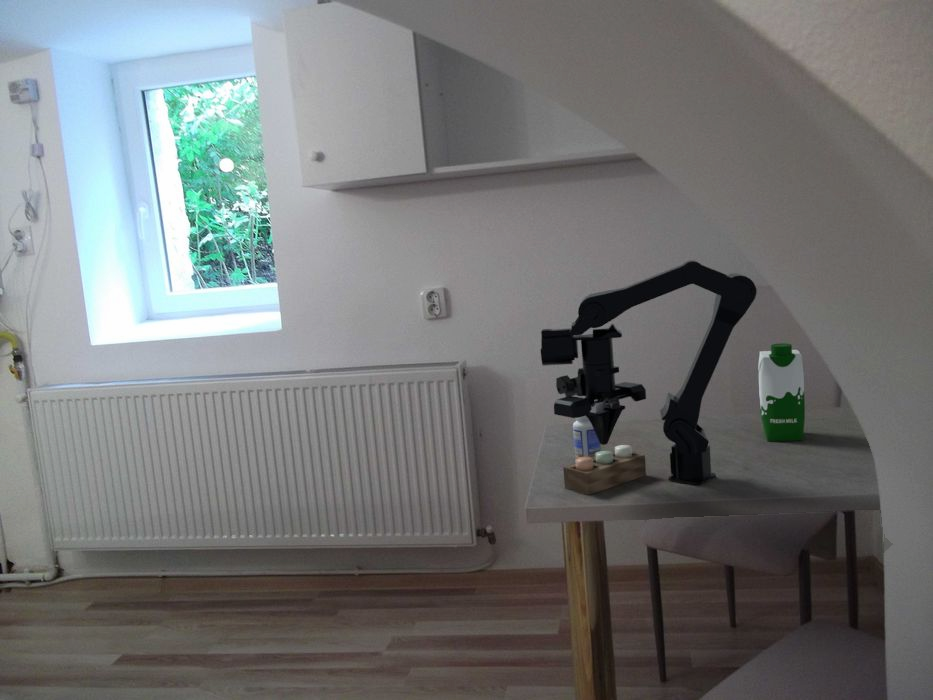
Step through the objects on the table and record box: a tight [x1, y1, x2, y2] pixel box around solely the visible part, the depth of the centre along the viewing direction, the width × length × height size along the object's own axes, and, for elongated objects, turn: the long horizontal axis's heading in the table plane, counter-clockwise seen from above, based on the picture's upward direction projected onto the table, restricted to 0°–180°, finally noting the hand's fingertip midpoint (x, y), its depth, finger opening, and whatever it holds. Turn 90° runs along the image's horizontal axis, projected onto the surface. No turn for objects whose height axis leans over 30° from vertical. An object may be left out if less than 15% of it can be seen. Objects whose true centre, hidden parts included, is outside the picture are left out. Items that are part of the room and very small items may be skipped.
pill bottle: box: [572, 416, 602, 459], centre depth 175 cm, size 5×5×10 cm
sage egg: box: [595, 450, 613, 465], centre depth 158 cm, size 3×3×2 cm
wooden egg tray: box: [563, 450, 647, 496], centre depth 158 cm, size 15×6×4 cm, turn 125°
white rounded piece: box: [614, 444, 633, 459], centre depth 161 cm, size 3×3×2 cm
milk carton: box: [757, 342, 806, 442], centre depth 176 cm, size 9×9×20 cm
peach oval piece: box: [574, 457, 593, 472], centre depth 155 cm, size 3×3×2 cm
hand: (603, 444), depth 157 cm, fingers closed
